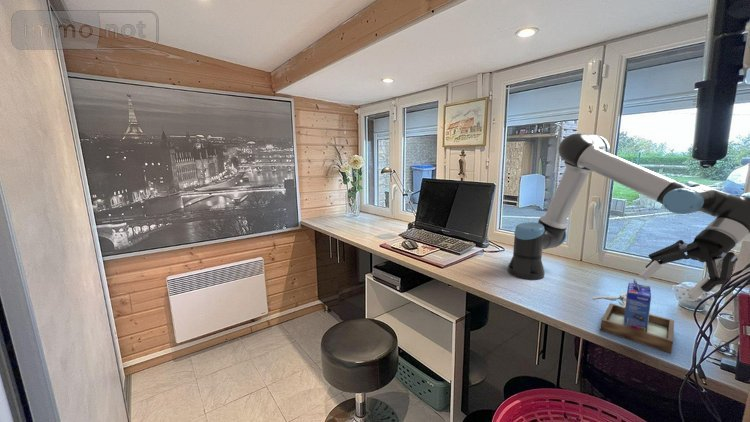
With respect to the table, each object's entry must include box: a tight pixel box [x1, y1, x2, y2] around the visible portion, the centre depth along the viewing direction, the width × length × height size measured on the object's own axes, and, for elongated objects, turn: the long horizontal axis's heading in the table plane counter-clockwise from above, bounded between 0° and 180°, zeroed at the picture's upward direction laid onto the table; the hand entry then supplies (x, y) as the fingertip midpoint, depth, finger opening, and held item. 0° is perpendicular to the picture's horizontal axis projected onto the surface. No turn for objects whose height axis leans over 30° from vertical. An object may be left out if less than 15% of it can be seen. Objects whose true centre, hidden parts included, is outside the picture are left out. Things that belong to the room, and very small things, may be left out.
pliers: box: [592, 291, 627, 307], centre depth 109 cm, size 10×2×15 cm
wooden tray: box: [599, 302, 675, 354], centre depth 90 cm, size 16×16×4 cm
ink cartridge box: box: [624, 278, 652, 332], centre depth 89 cm, size 10×6×14 cm, turn 139°
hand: (664, 286), depth 88 cm, fingers open, 13 cm apart
